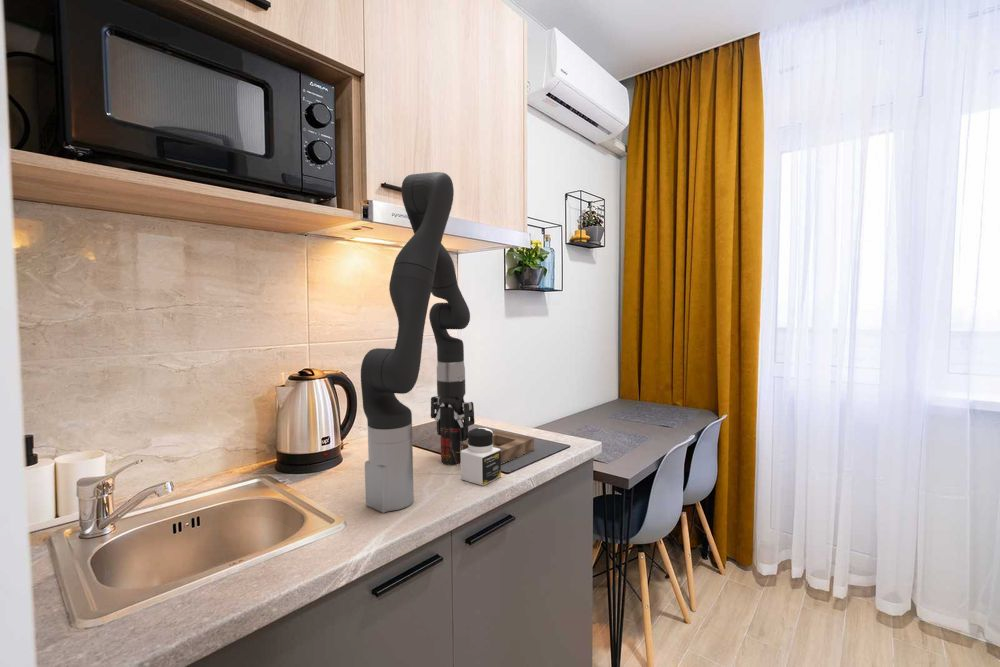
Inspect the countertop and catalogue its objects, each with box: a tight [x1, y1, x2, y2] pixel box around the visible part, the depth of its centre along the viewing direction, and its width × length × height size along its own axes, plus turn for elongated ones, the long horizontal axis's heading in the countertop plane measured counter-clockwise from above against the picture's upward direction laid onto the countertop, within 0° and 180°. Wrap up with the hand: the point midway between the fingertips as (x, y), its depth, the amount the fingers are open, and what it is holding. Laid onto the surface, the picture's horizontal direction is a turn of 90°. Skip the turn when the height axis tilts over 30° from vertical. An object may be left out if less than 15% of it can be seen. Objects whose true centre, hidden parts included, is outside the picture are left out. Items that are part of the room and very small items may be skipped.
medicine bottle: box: [460, 427, 502, 486], centre depth 114 cm, size 7×7×12 cm
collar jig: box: [463, 429, 535, 463], centre depth 133 cm, size 16×14×4 cm
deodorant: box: [440, 406, 464, 466], centre depth 126 cm, size 6×6×15 cm
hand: (452, 437), depth 126 cm, fingers open, 8 cm apart
